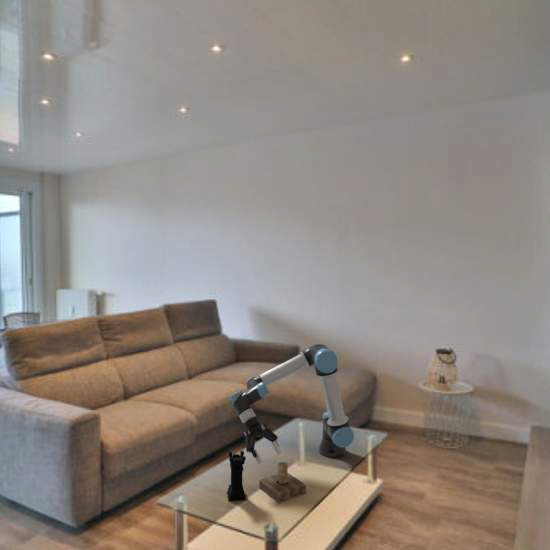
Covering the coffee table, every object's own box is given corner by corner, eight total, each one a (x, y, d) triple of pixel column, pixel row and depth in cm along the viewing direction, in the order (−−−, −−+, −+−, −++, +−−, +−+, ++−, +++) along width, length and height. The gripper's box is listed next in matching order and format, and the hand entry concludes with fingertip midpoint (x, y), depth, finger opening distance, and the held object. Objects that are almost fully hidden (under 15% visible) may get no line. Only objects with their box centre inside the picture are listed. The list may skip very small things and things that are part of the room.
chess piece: (228, 501, 218) (229, 459, 217) (226, 492, 226) (227, 451, 225) (245, 500, 220) (246, 458, 218) (243, 491, 228) (244, 450, 226)
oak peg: (283, 487, 232) (283, 461, 231) (288, 491, 228) (289, 464, 227) (276, 489, 229) (276, 463, 228) (281, 493, 226) (282, 467, 225)
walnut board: (285, 479, 240) (285, 471, 240) (306, 493, 227) (306, 484, 227) (259, 488, 230) (259, 480, 230) (279, 503, 218) (279, 494, 217)
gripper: (263, 417, 254) (283, 453, 244) (227, 430, 236) (247, 470, 226) (270, 410, 250) (291, 446, 240) (234, 422, 231) (255, 463, 222)
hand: (270, 458), depth 233 cm, fingers open, 13 cm apart
